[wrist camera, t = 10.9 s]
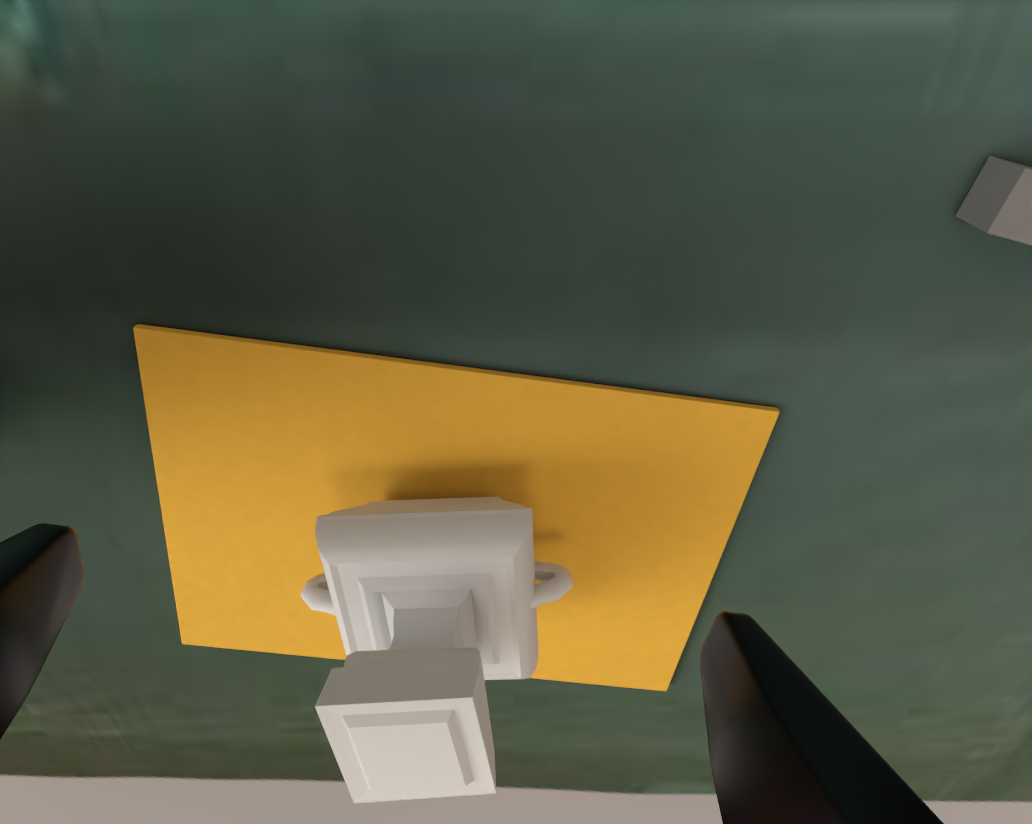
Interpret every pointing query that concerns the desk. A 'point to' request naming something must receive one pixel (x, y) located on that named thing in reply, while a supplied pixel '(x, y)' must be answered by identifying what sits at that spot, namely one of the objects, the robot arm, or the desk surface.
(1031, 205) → the submachine gun
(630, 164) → the desk surface
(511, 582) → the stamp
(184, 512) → the cloth
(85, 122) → the desk surface
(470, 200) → the desk surface
